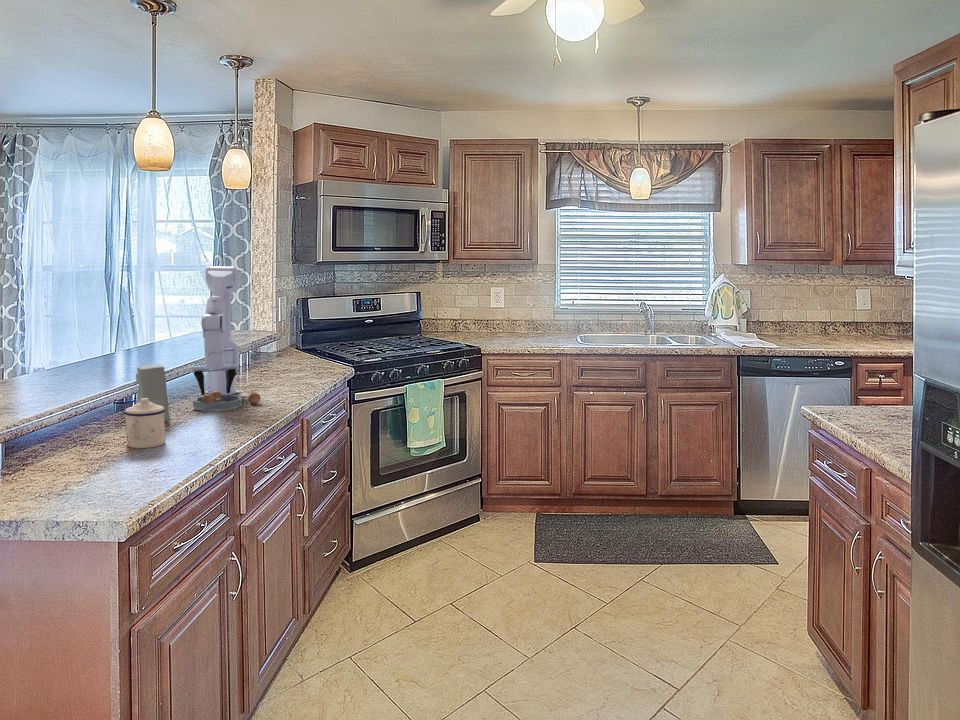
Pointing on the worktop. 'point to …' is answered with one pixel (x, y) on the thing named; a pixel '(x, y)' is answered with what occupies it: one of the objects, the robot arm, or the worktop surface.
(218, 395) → the bead
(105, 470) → the worktop surface
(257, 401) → the bead
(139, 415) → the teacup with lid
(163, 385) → the skincare box
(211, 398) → the bead seated
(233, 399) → the groove tray
